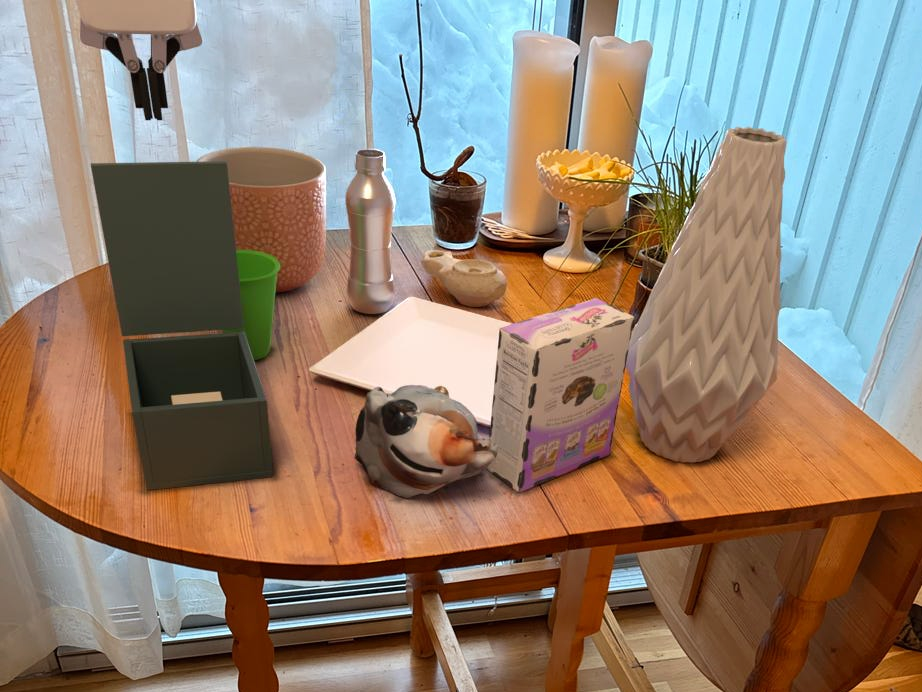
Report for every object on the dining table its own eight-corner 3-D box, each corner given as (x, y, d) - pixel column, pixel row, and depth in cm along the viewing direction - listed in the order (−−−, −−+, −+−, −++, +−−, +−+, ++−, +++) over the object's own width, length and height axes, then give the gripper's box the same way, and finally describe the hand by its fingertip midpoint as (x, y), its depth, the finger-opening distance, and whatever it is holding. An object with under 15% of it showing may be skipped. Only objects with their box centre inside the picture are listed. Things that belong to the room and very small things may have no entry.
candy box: (574, 434, 110) (597, 295, 99) (610, 457, 107) (638, 316, 96) (483, 469, 103) (497, 323, 92) (519, 494, 100) (537, 347, 89)
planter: (335, 303, 132) (332, 187, 121) (209, 305, 128) (195, 186, 118) (322, 256, 144) (318, 147, 134) (206, 257, 140) (193, 145, 130)
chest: (273, 477, 99) (267, 400, 93) (146, 490, 95) (132, 412, 89) (251, 404, 110) (244, 331, 104) (136, 414, 106) (122, 339, 100)
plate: (585, 356, 125) (587, 341, 124) (505, 444, 107) (507, 428, 106) (409, 309, 132) (410, 294, 131) (307, 384, 114) (306, 368, 113)
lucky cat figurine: (500, 453, 105) (532, 382, 93) (456, 540, 101) (484, 477, 88) (378, 392, 105) (394, 311, 92) (329, 476, 100) (338, 404, 87)
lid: (227, 162, 93) (221, 153, 96) (90, 165, 89) (89, 154, 93) (244, 328, 103) (238, 314, 106) (122, 336, 99) (120, 321, 103)
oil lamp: (427, 273, 142) (429, 238, 139) (518, 292, 139) (522, 257, 136) (400, 298, 135) (401, 263, 131) (496, 319, 132) (499, 283, 128)
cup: (234, 374, 114) (225, 284, 107) (198, 345, 119) (187, 257, 112) (299, 357, 119) (294, 269, 112) (262, 330, 124) (255, 244, 116)
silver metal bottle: (403, 308, 132) (407, 153, 119) (375, 324, 128) (376, 165, 114) (366, 295, 134) (365, 141, 121) (337, 311, 130) (332, 153, 116)
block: (182, 462, 98) (175, 419, 95) (177, 437, 102) (170, 395, 98) (231, 457, 100) (226, 414, 96) (225, 433, 103) (220, 391, 100)
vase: (776, 479, 106) (882, 164, 84) (636, 486, 103) (708, 160, 81) (719, 405, 118) (799, 112, 96) (592, 409, 115) (644, 107, 93)
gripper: (205, -125, 84) (227, 106, 96) (22, -137, 80) (70, 106, 92) (214, -116, 79) (236, 127, 91) (20, -128, 75) (71, 128, 87)
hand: (153, 116), depth 92 cm, fingers closed
